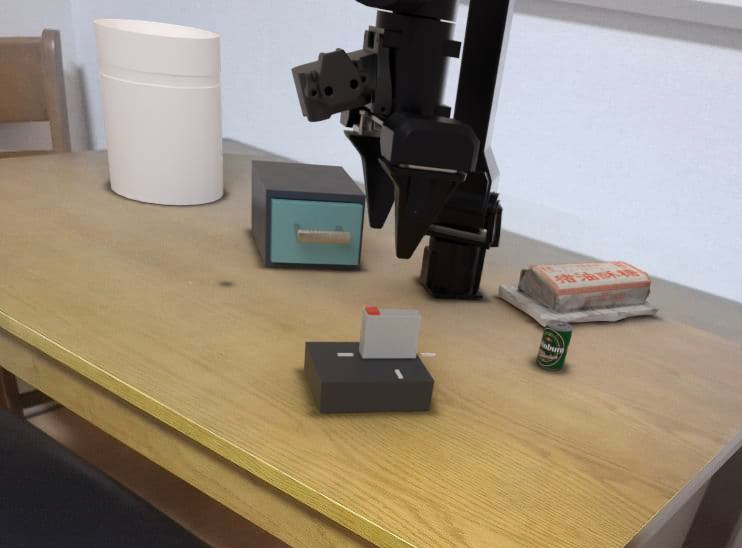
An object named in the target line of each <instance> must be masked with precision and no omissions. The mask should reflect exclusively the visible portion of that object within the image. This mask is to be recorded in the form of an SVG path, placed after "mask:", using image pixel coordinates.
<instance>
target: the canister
mask: <svg viewBox="0 0 742 548" xmlns="http://www.w3.org/2000/svg"><path fill="white" fill-rule="evenodd" d="M93 26H94V27H93V28H94V35H95V36H94V37H95V47H96V57H97V61H98V68H99V69H98V75H99V85H100V94H101V104H102V112H103V113H102V114H103V121H104V132H105V140H106V141H105V142H106V150H107V160H108V169H109V181H110V189H111V190H112V191H113V192H114V193H115V194H117V195H119V196H122V197H124V198H126V199H129V200H132V201H133V200H134V201H138V202H143V203H149V204H155V205H164V206H166V205H167V206H170V205H171V206H191V205H192V206H195V205H196V206H197V205H203V204H210V203H213V202H215V201H218V200H221V199H222V197H223V196H224V160H223V158H224V156H223V117H222V116H223V115H222V113H223V112H222V111H223V110H222V109H223V108H222V83H221V71H222V69H221V68H222V66H221V63H222V61H221V36H220V35H219V34H218V33H216V32H213V31H210V30H206V29H202V28H198V27H192V26H187V25H183V24H182V25H181V24H175V23H166V22H161V21H151V20H142V19H130V18H129V19H128V18H97V19H93Z"/></svg>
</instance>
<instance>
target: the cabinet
mask: <svg viewBox="0 0 742 548" xmlns="http://www.w3.org/2000/svg"><path fill="white" fill-rule="evenodd" d="M274 198H284V199H301V200H319V201H336V202H351V203H356V204H361V205H362V206H363V210H362V222H361V234H360V245H359V257H358V265H339V264H309V263H279V262H271V259H270V245H271V199H274ZM366 203H367V201H366V193H365V192H364V191H363V190H362V189H361V188H360V187H359V185H358V184H357V183H356V181H355V180H354V179H353V178H352V177H351V175H350V174H349V173H348V172H347V170H346V169H345V168H344V167H343V166H340V165H329V164H328V165H327V164H313V163H299V162H286V161H285V162H284V161H274V160H273V161H271V160H256V159H252V160H251V233H252V236H253V239H254V241H255V243H256V247H257V249H258V251H259V254H260V257H261V259H262V262H263V265H264V267H267V268H294V269H296V268H297V269H326V270H327V269H328V270H331V269H332V270H360V269H361V260H362V259H361V257H362V248H363V237H364V225H365V213H366Z"/></svg>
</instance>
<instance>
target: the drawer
mask: <svg viewBox="0 0 742 548" xmlns="http://www.w3.org/2000/svg"><path fill="white" fill-rule="evenodd" d="M362 210H363V206H362V205H361V204H356V203H351V202H336V201H319V200H301V199H284V198H274V199H271V245H270V259H271V262H279V263H309V264H339V265H358V257H359V245H360V234H361V222H362Z"/></svg>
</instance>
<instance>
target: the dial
mask: <svg viewBox="0 0 742 548" xmlns="http://www.w3.org/2000/svg"><path fill="white" fill-rule="evenodd" d="M361 312H362V314H361V326H360V335H359V342H360V344H359V352H360V354H361V356H362V358H363V359H377V358H416V353H417V352H418V345H419V339H420V333H421V332H420V331H421V324H422V315H421V313H420V312H419V311H418V309H410V308H409V309H408V308H407V309H402V308H378V307H377V306H365V308H362V311H361ZM417 354H418V353H417Z"/></svg>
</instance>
